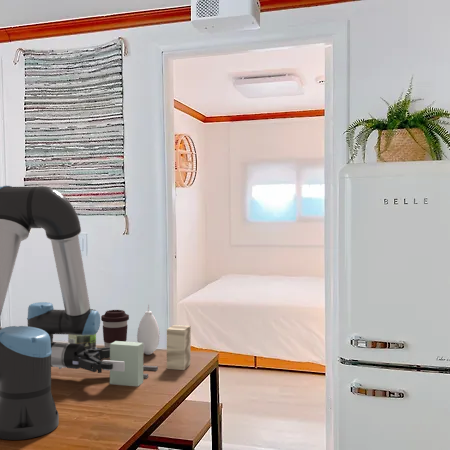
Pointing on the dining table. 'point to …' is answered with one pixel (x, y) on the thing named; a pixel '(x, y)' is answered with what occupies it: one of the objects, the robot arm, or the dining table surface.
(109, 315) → the travel mug
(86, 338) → the can
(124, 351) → the pale green block
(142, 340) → the sauce bottle
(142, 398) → the dining table surface
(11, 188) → the robot arm
